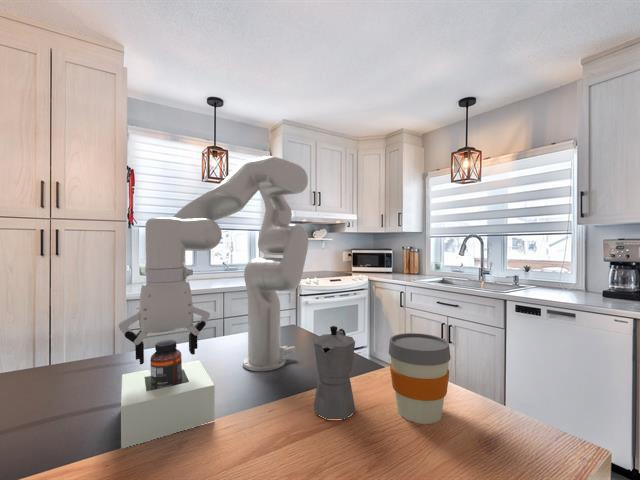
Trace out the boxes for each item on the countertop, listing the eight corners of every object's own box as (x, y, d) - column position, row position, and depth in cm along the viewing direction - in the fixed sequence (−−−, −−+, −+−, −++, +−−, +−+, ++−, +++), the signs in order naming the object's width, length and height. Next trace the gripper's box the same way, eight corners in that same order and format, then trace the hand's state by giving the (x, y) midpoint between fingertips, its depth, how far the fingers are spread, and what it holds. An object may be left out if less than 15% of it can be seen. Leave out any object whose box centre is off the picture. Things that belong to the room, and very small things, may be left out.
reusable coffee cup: (377, 404, 71) (377, 336, 71) (422, 393, 76) (421, 330, 76) (415, 435, 59) (414, 355, 60) (465, 420, 64) (464, 346, 64)
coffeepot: (349, 430, 61) (348, 336, 61) (303, 422, 64) (302, 332, 64) (362, 394, 76) (362, 318, 76) (325, 388, 79) (324, 315, 79)
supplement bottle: (179, 387, 71) (179, 336, 71) (184, 398, 66) (184, 343, 66) (149, 394, 68) (149, 341, 68) (152, 406, 63) (151, 348, 63)
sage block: (199, 390, 78) (199, 360, 78) (214, 422, 64) (214, 384, 64) (122, 408, 70) (122, 374, 70) (121, 449, 56) (121, 406, 56)
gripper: (205, 272, 75) (206, 344, 75) (118, 277, 66) (119, 360, 66) (212, 275, 68) (213, 354, 69) (117, 281, 60) (118, 373, 60)
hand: (167, 357), depth 67 cm, fingers open, 9 cm apart
